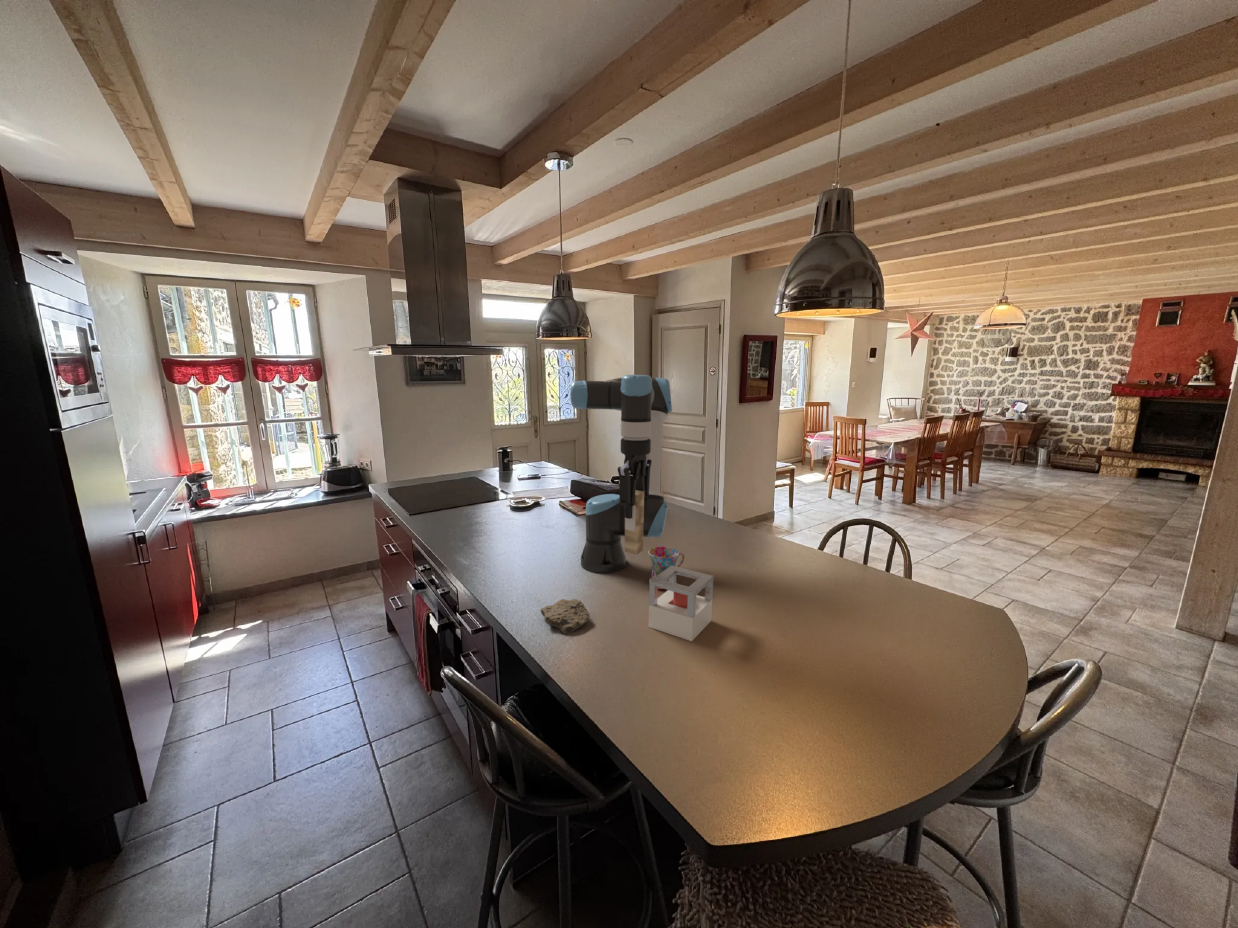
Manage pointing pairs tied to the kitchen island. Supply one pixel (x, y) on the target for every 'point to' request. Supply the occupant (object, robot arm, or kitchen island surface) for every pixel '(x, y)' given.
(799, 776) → the kitchen island surface
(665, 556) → the mug
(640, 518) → the tall wooden block
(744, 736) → the kitchen island surface
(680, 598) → the red dome button
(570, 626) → the rock
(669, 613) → the box
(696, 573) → the frame
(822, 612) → the kitchen island surface
